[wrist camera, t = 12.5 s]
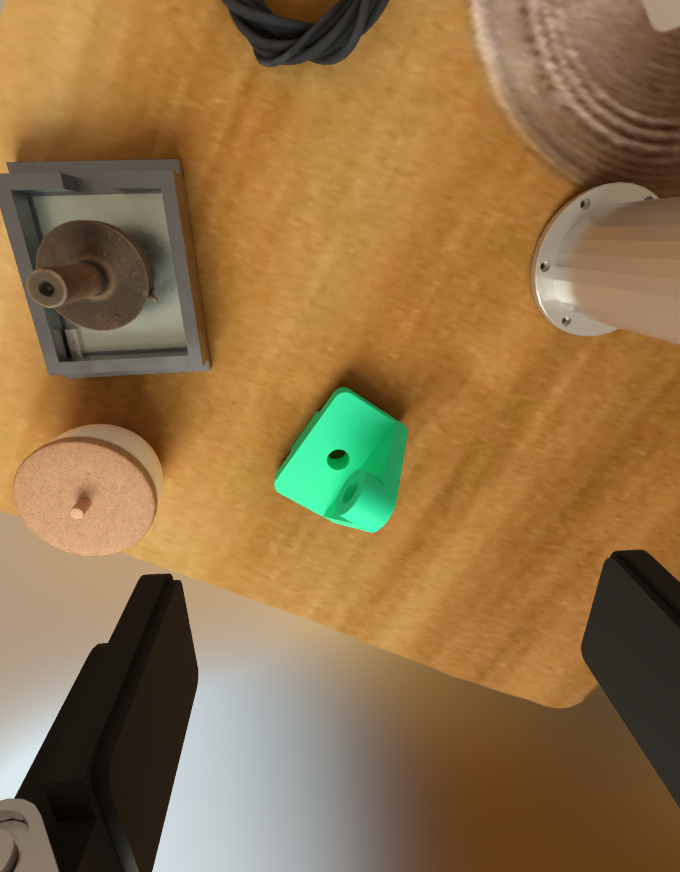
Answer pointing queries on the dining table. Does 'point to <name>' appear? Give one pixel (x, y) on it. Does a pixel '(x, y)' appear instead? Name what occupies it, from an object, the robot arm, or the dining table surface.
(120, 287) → the industrial component
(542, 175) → the dining table surface
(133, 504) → the lidded jar
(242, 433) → the dining table surface
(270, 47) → the cable
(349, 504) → the camera mount
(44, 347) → the pocket plate
